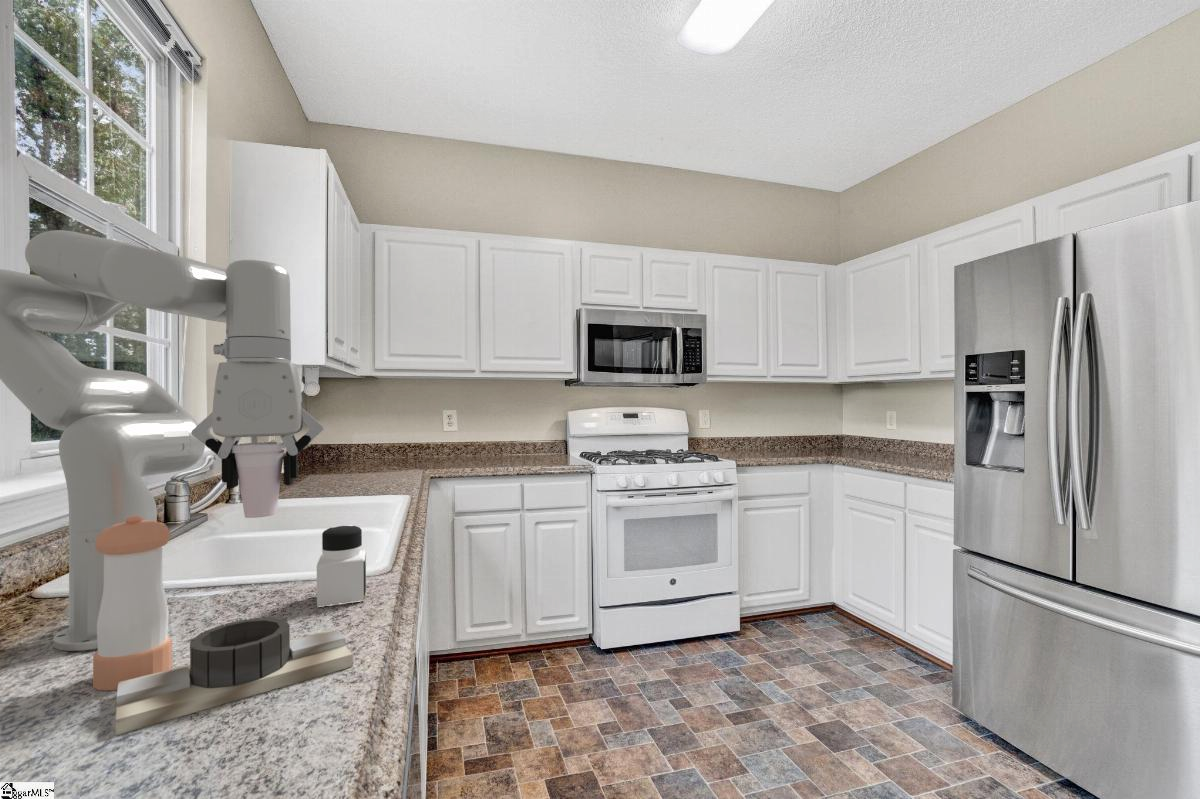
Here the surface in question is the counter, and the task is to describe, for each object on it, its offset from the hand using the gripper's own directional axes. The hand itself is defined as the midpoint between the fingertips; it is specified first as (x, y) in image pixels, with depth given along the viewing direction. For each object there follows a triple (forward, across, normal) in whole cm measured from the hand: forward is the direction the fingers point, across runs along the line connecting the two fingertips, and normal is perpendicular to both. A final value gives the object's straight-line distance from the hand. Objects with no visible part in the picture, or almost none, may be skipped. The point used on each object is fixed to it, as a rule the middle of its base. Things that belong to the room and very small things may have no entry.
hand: (261, 484), depth 75 cm
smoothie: (+4, 0, 0) cm, 4 cm away
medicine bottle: (+22, +9, +16) cm, 29 cm away
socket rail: (+22, 0, -10) cm, 24 cm away
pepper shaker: (+22, -13, -4) cm, 26 cm away
